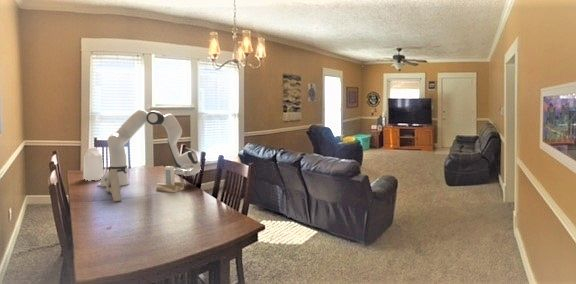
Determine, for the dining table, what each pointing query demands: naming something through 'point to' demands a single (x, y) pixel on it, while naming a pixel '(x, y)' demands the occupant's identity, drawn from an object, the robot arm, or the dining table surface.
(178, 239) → the dining table surface
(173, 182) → the white grey box
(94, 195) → the dining table surface
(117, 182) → the wall bracket
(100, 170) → the milk
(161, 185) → the stand
